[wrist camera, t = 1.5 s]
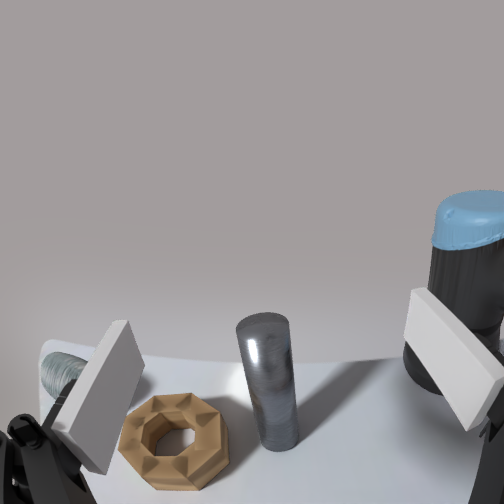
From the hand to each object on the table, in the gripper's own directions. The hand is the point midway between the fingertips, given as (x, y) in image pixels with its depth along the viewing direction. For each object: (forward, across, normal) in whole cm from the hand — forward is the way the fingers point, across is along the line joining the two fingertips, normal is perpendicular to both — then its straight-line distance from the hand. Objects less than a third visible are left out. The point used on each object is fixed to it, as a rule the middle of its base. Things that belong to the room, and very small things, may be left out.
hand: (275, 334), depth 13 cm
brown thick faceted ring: (+8, -12, -23) cm, 27 cm away
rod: (+9, 0, -22) cm, 24 cm away
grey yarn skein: (+16, -29, -24) cm, 41 cm away
